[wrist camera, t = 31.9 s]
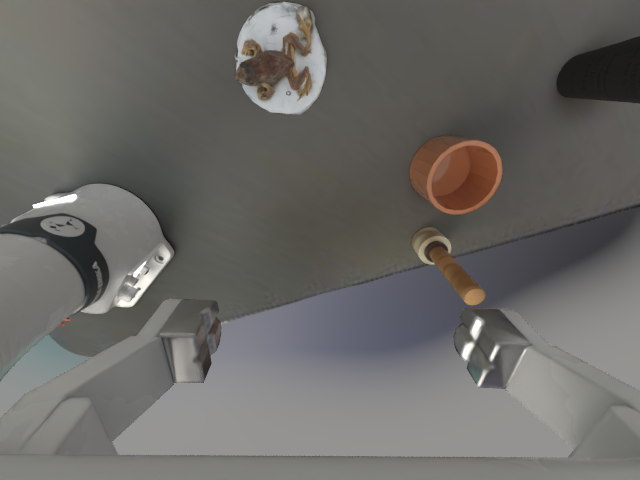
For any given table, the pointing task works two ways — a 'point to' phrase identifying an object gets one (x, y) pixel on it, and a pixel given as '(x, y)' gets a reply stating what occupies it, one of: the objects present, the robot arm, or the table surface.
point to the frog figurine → (281, 58)
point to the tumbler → (456, 173)
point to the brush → (446, 263)
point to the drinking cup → (604, 74)
